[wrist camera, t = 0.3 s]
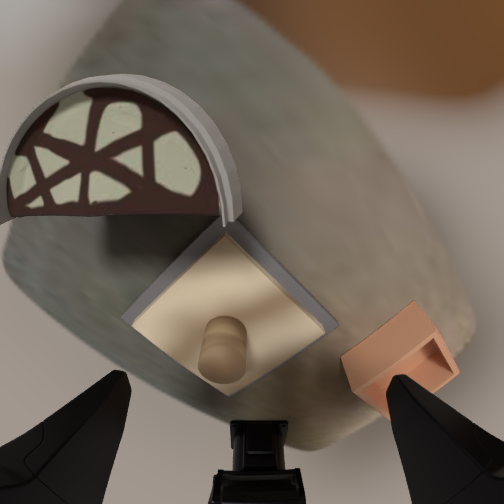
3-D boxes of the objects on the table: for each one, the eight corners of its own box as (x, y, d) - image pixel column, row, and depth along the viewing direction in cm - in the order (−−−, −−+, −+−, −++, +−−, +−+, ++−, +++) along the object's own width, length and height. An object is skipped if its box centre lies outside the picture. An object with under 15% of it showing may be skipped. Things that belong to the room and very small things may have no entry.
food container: (249, 92, 17) (247, 50, 8) (246, 182, 19) (240, 227, 10) (82, 105, 17) (-15, 102, 8) (84, 184, 19) (-7, 225, 10)
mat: (337, 320, 24) (339, 325, 23) (229, 392, 27) (229, 397, 26) (226, 209, 20) (225, 211, 20) (122, 313, 23) (120, 317, 23)
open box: (441, 345, 25) (459, 372, 21) (379, 391, 28) (391, 421, 23) (413, 300, 23) (436, 329, 19) (340, 356, 25) (352, 391, 21)
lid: (323, 325, 23) (336, 367, 18) (228, 388, 26) (225, 429, 21) (225, 231, 20) (217, 261, 15) (135, 319, 23) (114, 357, 18)
